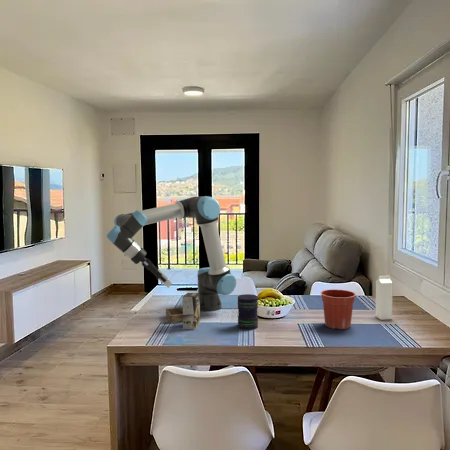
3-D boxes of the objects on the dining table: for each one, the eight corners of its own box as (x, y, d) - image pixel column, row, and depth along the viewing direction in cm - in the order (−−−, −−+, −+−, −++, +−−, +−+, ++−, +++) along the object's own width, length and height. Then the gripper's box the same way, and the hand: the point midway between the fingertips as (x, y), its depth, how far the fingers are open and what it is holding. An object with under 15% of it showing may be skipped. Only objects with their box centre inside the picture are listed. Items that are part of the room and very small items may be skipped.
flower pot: (354, 332, 193) (354, 298, 192) (318, 329, 199) (318, 296, 197) (356, 322, 208) (356, 290, 207) (322, 319, 214) (322, 288, 213)
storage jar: (234, 325, 206) (234, 295, 205) (252, 322, 210) (252, 293, 209) (243, 331, 197) (243, 300, 196) (261, 328, 201) (261, 297, 200)
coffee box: (195, 330, 200) (195, 296, 199) (182, 329, 201) (182, 296, 200) (200, 324, 209) (199, 292, 208) (188, 323, 210) (187, 291, 209)
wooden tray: (190, 313, 227) (189, 306, 227) (195, 321, 214) (195, 313, 213) (166, 316, 224) (165, 308, 223) (170, 323, 210) (169, 315, 210)
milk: (375, 316, 218) (375, 274, 216) (386, 316, 218) (386, 274, 217) (380, 319, 212) (381, 276, 210) (392, 319, 212) (392, 276, 211)
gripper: (128, 255, 206) (159, 283, 212) (131, 262, 183) (166, 294, 188) (139, 244, 208) (169, 272, 213) (143, 250, 184) (177, 282, 189)
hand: (168, 282), depth 200 cm, fingers open, 13 cm apart
